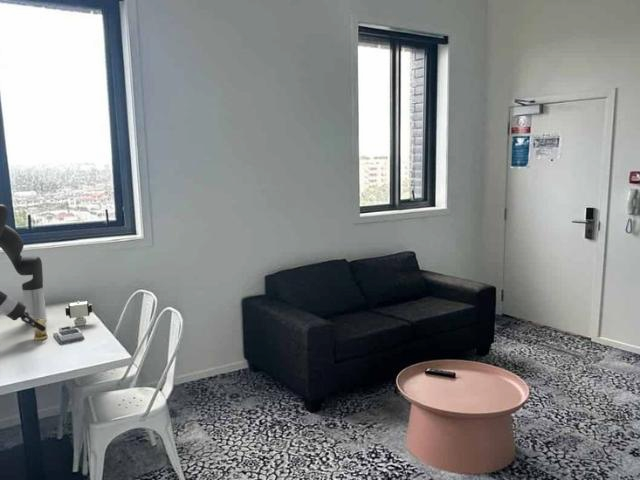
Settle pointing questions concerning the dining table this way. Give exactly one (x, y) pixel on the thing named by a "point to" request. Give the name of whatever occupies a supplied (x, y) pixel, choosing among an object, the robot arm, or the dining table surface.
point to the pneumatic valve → (79, 312)
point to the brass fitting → (39, 334)
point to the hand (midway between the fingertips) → (42, 327)
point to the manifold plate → (68, 335)
